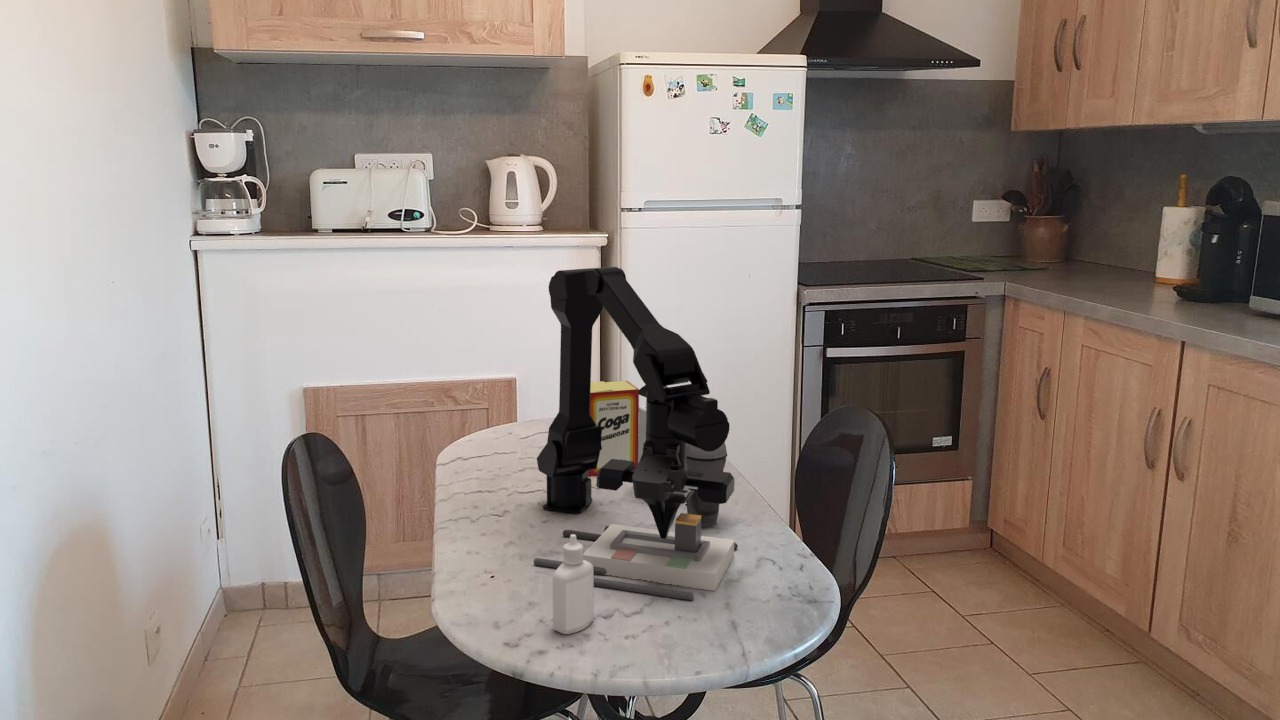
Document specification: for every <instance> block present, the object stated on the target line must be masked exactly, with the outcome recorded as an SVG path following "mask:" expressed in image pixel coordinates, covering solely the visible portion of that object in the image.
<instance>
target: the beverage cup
mask: <svg viewBox="0 0 1280 720" xmlns="http://www.w3.org/2000/svg"><path fill="white" fill-rule="evenodd" d="M727 457H728V452H727V446H726V441H725V442H724V443H723V445H722V446H721V447H719V448H718V449H716V450H714V451H711V452H709V451H704V450H702V449H699V448H697V447H695V446H692V445H690V444H687V449H686V463H688V464H687V471H686V476H695V477H702V476H703V475H704V473H705V472H706V471H707V470H712V471H720V472H724V470H725V469H724V468H725V466H726V461H727ZM719 510H720V504H718V503H710V502H703V501H702V500H701V499H700V498H699V497H698V496H697V491H694V492H693V494H692V495H691V496H690V498H689V499H688V500H687V501H686V514H693V515H701V529H710V528H714V527H715V526H717V523H718V521H717V520H718V516H719Z"/></svg>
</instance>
